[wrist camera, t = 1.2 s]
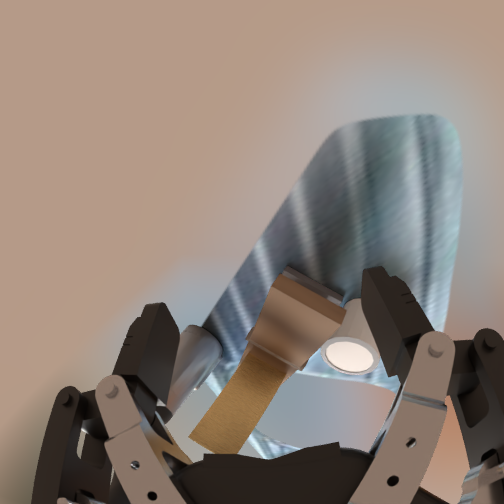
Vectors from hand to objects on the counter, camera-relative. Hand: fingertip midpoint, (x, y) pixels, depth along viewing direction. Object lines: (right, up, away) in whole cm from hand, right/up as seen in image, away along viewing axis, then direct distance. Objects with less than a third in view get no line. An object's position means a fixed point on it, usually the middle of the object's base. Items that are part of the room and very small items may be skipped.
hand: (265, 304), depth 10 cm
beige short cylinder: (+13, -6, +21) cm, 26 cm away
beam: (+2, -8, +17) cm, 19 cm away
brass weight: (+1, -12, +20) cm, 23 cm away
